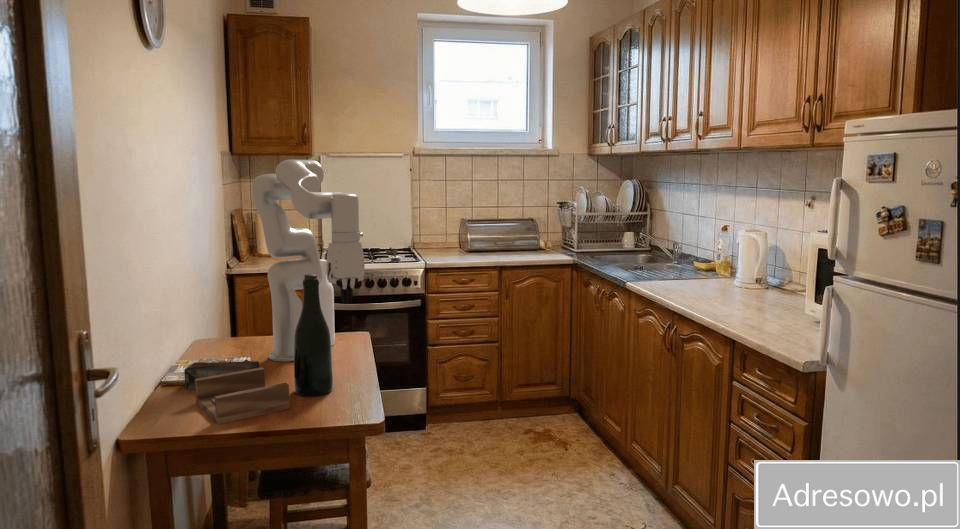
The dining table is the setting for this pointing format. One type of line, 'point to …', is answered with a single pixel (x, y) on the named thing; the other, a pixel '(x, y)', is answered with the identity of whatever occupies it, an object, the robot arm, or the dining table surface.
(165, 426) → the dining table surface
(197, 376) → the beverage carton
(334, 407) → the dining table surface
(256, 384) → the cradle
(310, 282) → the beer bottle
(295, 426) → the dining table surface
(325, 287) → the bottle
